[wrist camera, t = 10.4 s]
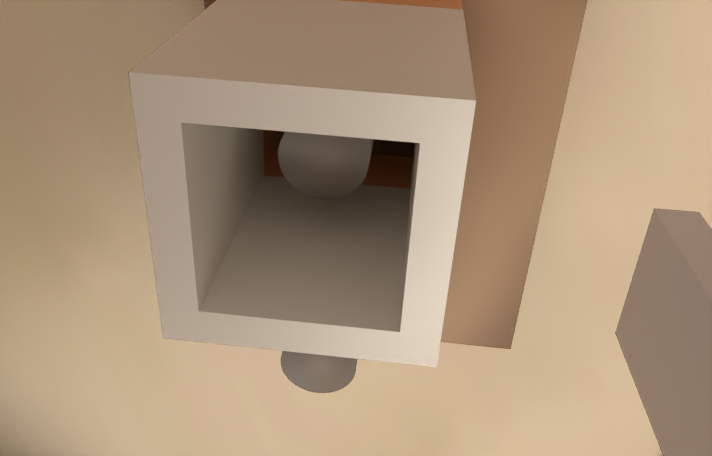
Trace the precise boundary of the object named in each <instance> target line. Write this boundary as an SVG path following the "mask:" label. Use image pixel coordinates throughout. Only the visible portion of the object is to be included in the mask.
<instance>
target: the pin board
mask: <svg viewBox="0 0 712 456" xmlns="http://www.w3.org/2000/svg"><path fill="white" fill-rule="evenodd" d="M215 1H216V0H204V2H205V9H206V8H208V7H209V6H210V5H211V4H213V3H214V2H215ZM462 4H463V11H464V18H465V25H466V32H467V39H468V46H469V53H470V60H471V67H472V74H473V81H474V88H475V95H476V106H475V112H474V119H473V126H472V133H471V139H470V146H469V153H468V160H467V166H466V173H465V180H464V187H463V193H462V200H461V207H460V214H459V220H458V227H457V234H456V241H455V247H454V254H453V261H452V268H451V274H450V281H449V288H448V295H447V301H446V308H445V315H444V322H443V328H442V335H441V342H447V343H456V344H466V345H476V346H485V347H495V348H504V349H511V345H512V340H513V335H514V331H515V326H516V322H517V317H518V313H519V308H520V304H521V299H522V295H523V290H524V285H525V281H526V276H527V272H528V267H529V263H530V258H531V254H532V249H533V245H534V240H535V236H536V231H537V226H538V222H539V217H540V213H541V208H542V204H543V199H544V195H545V190H546V186H547V181H548V176H549V172H550V167H551V163H552V158H553V154H554V149H555V145H556V140H557V136H558V131H559V126H560V122H561V117H562V113H563V108H564V104H565V99H566V95H567V90H568V86H569V81H570V77H571V72H572V67H573V63H574V58H575V54H576V49H577V45H578V40H579V36H580V31H581V27H582V22H583V17H584V13H585V8H586V4H587V0H462ZM413 147H414V143H413V142H401V141H389V140H378V139H366V138H355V137H343V136H331V135H320V134H308V133H297V132H285V131H279V149H278V160H279V165H280V168H281V171H282V173H283V175H284V176H285V178H286V179H287V181H288V182H289V183H290V184H291V185H292V186H293V187H294V188H295V189H297V190H298V191H300V192H301V193H303V194H305V195H307V196H310V197H313V198H317V199H327V200H329V199H337V198H341V197H344V196H346V195H348V194H350V193H351V192H353V191H354V190H356V189H357V188H358V187H359V186H360V185H361V183H362V182H363V180H364V179H365V177H366V175H367V171H368V168H369V163H370V158H371V154H379V155H390V156H402V157H413ZM356 364H357V359H354V358H345V357H335V356H326V355H316V354H307V353H298V352H288V351H283V352H282V355H281V366H282V370H283V372H284V374H285V375H286V376H287V378H288V379H289V380H290V381H291V382H292V383H294V384H295V385H297V386H298V387H300V388H302V389H305V390H307V391H311V392H316V393H329V392H334V391H337V390H340V389H342V388H344V387H345V386H347V385H348V384H349V383H350V382H351V381H352V379H353V377H354V375H355V371H356Z"/></svg>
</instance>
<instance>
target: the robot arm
mask: <svg viewBox="0 0 712 456" xmlns="http://www.w3.org/2000/svg"><path fill="white" fill-rule="evenodd" d="M615 334H616V336H617V339H618V342H619V344H620V347H621V349H622V352H623V354H624V357H625V359H626V362H627V364H628V367H629V370H630V372H631V375H632V377H633V380H634V382H635V385H636V387H637V390H638V393H639V395H640V398H641V400H642V403H643V405H644V408H645V410H646V413H647V415H648V418H649V421H650V423H651V426H652V428H653V431H654V433H655V436H656V438H657V441H658V444H659V446H660V449H661V451H662V454H663V456H712V229H711V228H710V226H709V225H708V223H707V222H706V221H705V219H704V218H703V217H702V215H701V214H700V213H699V212H692V211H680V210H667V209H655V208H654V210H653V213H652V216H651V220H650V223H649V226H648V229H647V233H646V236H645V239H644V242H643V245H642V249H641V252H640V255H639V258H638V261H637V265H636V268H635V271H634V274H633V278H632V281H631V284H630V287H629V290H628V294H627V297H626V300H625V303H624V306H623V310H622V313H621V316H620V319H619V323H618V326H617V329H616V332H615Z"/></svg>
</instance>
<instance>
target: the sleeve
mask: <svg viewBox="0 0 712 456" xmlns="http://www.w3.org/2000/svg"><path fill="white" fill-rule="evenodd" d="M128 73H129V81H130V88H131V96H132V104H133V111H134V119H135V127H136V134H137V142H138V150H139V158H140V165H141V173H142V181H143V188H144V196H145V204H146V211H147V219H148V227H149V234H150V242H151V250H152V257H153V265H154V273H155V280H156V288H157V296H158V303H159V311H160V319H161V326H162V334H163V338H166V339H176V340H185V341H194V342H204V343H213V344H223V345H232V346H241V347H251V348H260V349H270V350H279V351H288V352H298V353H307V354H316V355H326V356H335V357H345V358H354V359H363V360H373V361H382V362H392V363H401V364H410V365H420V366H429V367H437V362H438V355H439V349H440V342H441V335H442V328H443V322H444V315H445V308H446V301H447V295H448V288H449V281H450V274H451V268H452V261H453V254H454V247H455V241H456V234H457V227H458V220H459V214H460V207H461V200H462V193H463V187H464V180H465V173H466V166H467V160H468V153H469V146H470V139H471V133H472V126H473V119H474V112H475V106H476V95H475V88H474V81H473V74H472V67H471V60H470V53H469V46H468V39H467V32H466V25H465V18H464V11H463V4H462V0H216V1H215V2H214V3H213V4H211V5H210V6H209V7H208V8H206V9H205V10H204V11H203V12H202V13H200V14H199V15H198V16H197V17H195V18H194V19H193V20H192V21H191V22H189V23H188V24H187V25H186V26H184V27H183V28H182V29H181V30H179V31H178V32H177V33H176V34H175V35H173V36H172V37H171V38H170V39H168V40H167V41H166V42H165V43H164V44H162V45H161V46H160V47H159V48H157V49H156V50H155V51H154V52H152V53H151V54H150V55H149V56H148V57H146V58H145V59H144V60H143V61H141V62H140V63H139V64H138V65H137V66H135V67H134V68H133V69H132V70H130V71H129V72H128ZM279 131H285V132H297V133H308V134H320V135H331V136H343V137H355V138H366V139H378V140H389V141H401V142H413V143H414V147H413V157H402V156H390V155H379V154H371V158H370V163H369V168H368V171H367V175H366V177H365V179H364V180H363V182H362V183H361V185H360V186H359V187H358V188H357V189H356V190H354V191H353V192H351V193H350V194H348V195H346V196H344V197H341V198H337V199H329V200H327V199H317V198H313V197H310V196H307V195H305V194H303V193H301V192H300V191H298V190H297V189H295V188H294V187H293V186H292V185H291V184H290V183H289V182H288V181H287V179H286V178H285V176H284V175H283V173H282V171H281V168H280V165H279V160H278V149H279Z"/></svg>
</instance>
